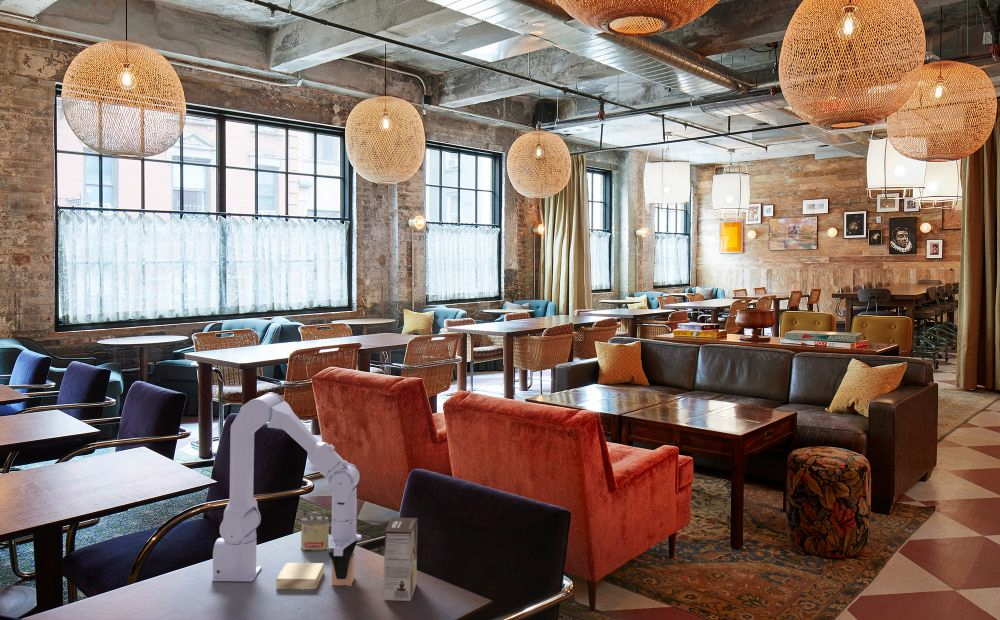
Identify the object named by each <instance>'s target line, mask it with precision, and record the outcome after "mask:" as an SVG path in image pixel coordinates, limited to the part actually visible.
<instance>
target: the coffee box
mask: <svg viewBox="0 0 1000 620" xmlns="http://www.w3.org/2000/svg"><path fill="white" fill-rule="evenodd" d="M418 519H419V518H418V517H391V518H390V520H389V522H388V524H387V527H386V529H385V531H384V557H383V559H384V560H383V561H384V565H383V566H384V567H383V571H384V572H383V600H384V601H404V602H410V601H412V598H413V596H414V592H415V589H416V585H417V575H418V574H417V571H418V570H417V568H418V567H417V566H418V564H417V563H418Z"/></svg>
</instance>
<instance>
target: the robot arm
mask: <svg viewBox="0 0 1000 620" xmlns="http://www.w3.org/2000/svg"><path fill="white" fill-rule="evenodd" d="M267 423H268V424H267ZM266 424H267V428H270V429H280V430H281V429H282V430H283V431H285V433H287V434H288V435H289V436H290V438H292V439H293V440H294V441H295V442H296V443H297V444H299V445H300V447H302V448H303V449H304V450H305V451H306V452H307V461H308V462H309V463H310V464H311V465H312V466H313V467H314V468H315V469H316V470H317V472H319V473H320V474H321V475H322V476H323V478H325V479H326V480H327V481H328V482H327V484H328V488H329V490H330V492H331V494H332V495H331V496H332V498H331V535H330V542H331V544H332V547H333V548H331V547H329V548H328V553H327V554H328V557H329V558H330V559H331V563H332V562H333V565H334V569H335V574H336V578H337V579H346V576H347V572H348V566H349V561H350V558H351V556H352V554H353V553H355V552H354V551H355V549H356V545H358V542H359V541H361V539H362V535H361V534H358V533H357V517H358V516H357V513H358V512H357V511H358V510H357V509H358V502H357V501H358V499H357V485H358V484H359V482H360V477H361V475H360V471H359V470H358V468H357V466H356V465H355V464H353V463H349V462H348V461H347V460H346V459H343V457H341V456H340V455H339V454H338V453H337V452H336V450H335V446H334V445H333V444H331V443H330V444H329V443H328V442H325V441H319V440H318V439H317V438H316V437H315V436H314V434H313V433H312V432H311V431H310V429H308V427H307V426H306V425H305V424H304V423H303V422H302V420H301V419H300V418H299V417H298V416H297V415H296V414H295V412H294V411H293V409H292V408H291V406H290V404H289V402H286V400H283V397H281V396H280V395H279V394H278V393H276V392H266V393H264V394H263V395H261V396H259V397H257V398H253V399H251V400H249V401H248V402H246V403H244V404H242V406H241V407H240V409H239V412H238V413H237V415H236V416H235V419H234V420H233V422H232V423H231V425H230V435H229V436H230V437H229V439H230V442H229V444H230V447H229V453H230V454H229V500H228V503H227V505H226V507H225V509H224V511H223V519H222V521H221V523H220V525H219V534H220V537H218V538H217V539H216V541H214V542H215V543H214V545H213V549H212V577H211V581H212V582H253V581H254V579H255V578H257V577H256V576H258V573H260V571H261V570H262V565H257V528H258V527H259V526H260V524H261V519H262V516H261V513H260V511H259V507H258V501H257V499H256V498H255V497H254V474H255V469H254V468H255V466H254V463H255V455H254V454H255V433H256V432H257V430H259V429H260V428H261V427H263V426H264V425H266Z"/></svg>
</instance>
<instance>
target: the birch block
mask: <svg viewBox="0 0 1000 620" xmlns="http://www.w3.org/2000/svg"><path fill="white" fill-rule="evenodd" d="M324 566H325V565H324V562H286V563H285V564H284V565H283V567H282V569H281V570H280V572H279V574H278V576H276V578H275V580H276V581H275V583H276V584H275V589H303V590H302V591H305V590H304V589H316V588H317V589H318V587H319V584H320V582H321V580H322V578H323V576H324V574H323V573H324V572H325V567H324ZM322 575H323V576H322ZM321 577H322V578H321ZM320 579H321V580H320ZM319 581H320V582H319ZM317 589H316V590H317Z"/></svg>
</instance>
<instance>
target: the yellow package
mask: <svg viewBox="0 0 1000 620" xmlns="http://www.w3.org/2000/svg"><path fill="white" fill-rule="evenodd" d="M300 524H301V531H300V532H301V535H300V536H301V538H300V541H301V542H300V543H301V545H300V546H301V547H300V550H301V551H305V550H312V551H325V550H324V549H326V550H328V549H329V548H330V546H329V536H330V535H329V531H330V530H329V529H330V527H329V525H330V523H329V516H326V510H325V509H324V510H321V511H320V510H319V511H313V510H312V511H311V510H307V511H306V516H304V517H302V518H301V523H300ZM328 547H329V548H328ZM327 548H328V549H327Z"/></svg>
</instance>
